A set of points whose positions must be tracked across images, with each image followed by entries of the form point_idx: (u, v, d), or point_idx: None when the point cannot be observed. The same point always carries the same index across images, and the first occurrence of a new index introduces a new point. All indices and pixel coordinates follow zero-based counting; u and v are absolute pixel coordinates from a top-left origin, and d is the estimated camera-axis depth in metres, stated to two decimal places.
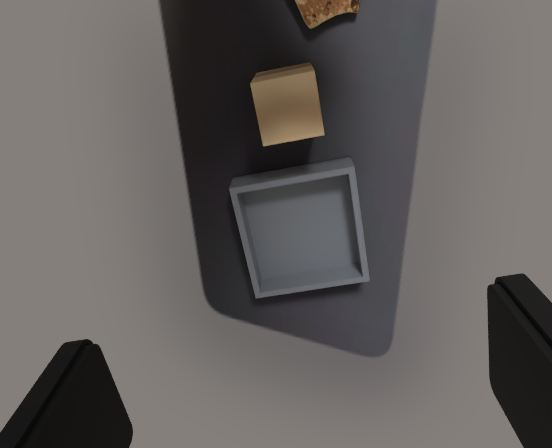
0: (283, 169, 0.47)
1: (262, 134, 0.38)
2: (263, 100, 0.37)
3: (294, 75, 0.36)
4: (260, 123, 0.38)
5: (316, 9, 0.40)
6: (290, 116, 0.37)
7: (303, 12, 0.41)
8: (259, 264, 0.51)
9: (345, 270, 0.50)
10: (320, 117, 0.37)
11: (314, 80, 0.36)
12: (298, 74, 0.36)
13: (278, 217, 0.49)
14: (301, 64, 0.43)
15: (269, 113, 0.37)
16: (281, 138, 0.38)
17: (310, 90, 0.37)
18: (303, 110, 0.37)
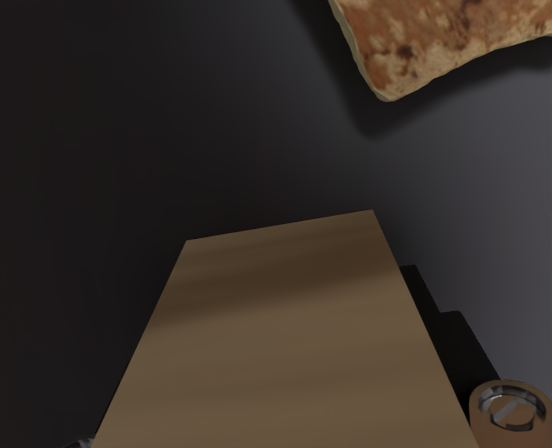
0: None
1: None
2: None
3: None
4: None
5: (418, 26, 0.09)
6: None
7: (361, 39, 0.10)
8: None
9: None
10: None
11: None
12: None
13: None
14: (344, 225, 0.12)
15: None
16: None
17: None
18: None
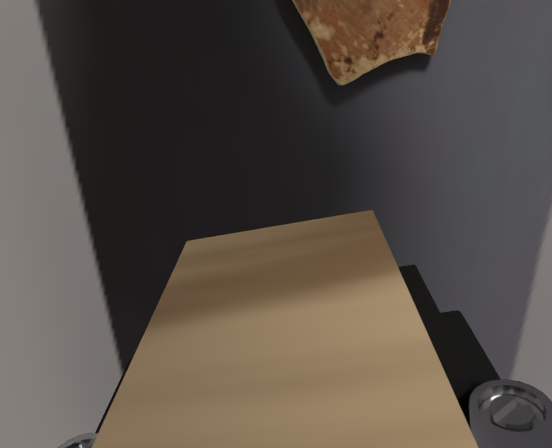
0: None
1: None
2: None
3: None
4: None
5: (354, 48, 0.20)
6: None
7: (327, 54, 0.20)
8: None
9: None
10: None
11: None
12: None
13: None
14: (344, 225, 0.12)
15: None
16: None
17: None
18: None
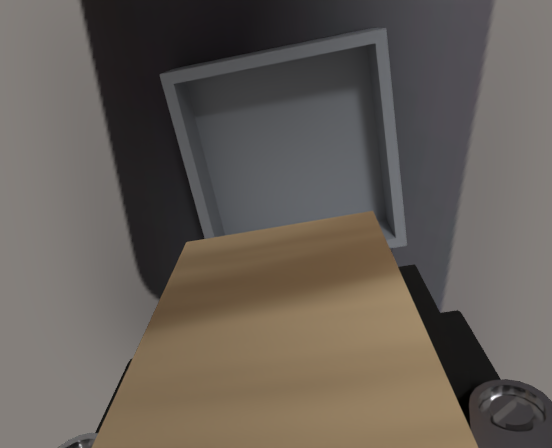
0: (259, 51, 0.27)
1: None
2: None
3: None
4: None
5: None
6: None
7: None
8: (223, 221, 0.31)
9: None
10: None
11: None
12: None
13: (252, 139, 0.29)
14: (344, 226, 0.12)
15: None
16: None
17: None
18: None
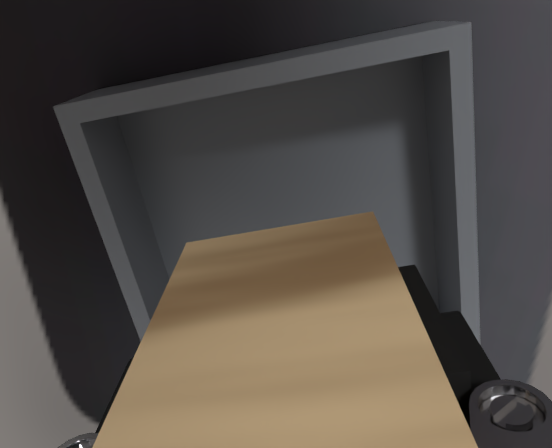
0: (237, 61, 0.16)
1: None
2: None
3: None
4: None
5: None
6: None
7: None
8: None
9: None
10: None
11: None
12: None
13: (229, 203, 0.18)
14: (344, 227, 0.12)
15: None
16: None
17: None
18: None
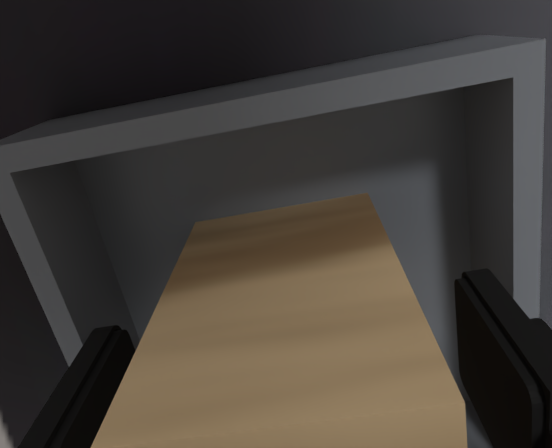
0: (225, 86, 0.13)
1: None
2: None
3: (341, 419, 0.06)
4: None
5: None
6: None
7: None
8: None
9: None
10: None
11: (457, 445, 0.06)
12: (365, 412, 0.06)
13: None
14: (341, 206, 0.13)
15: None
16: None
17: None
18: None
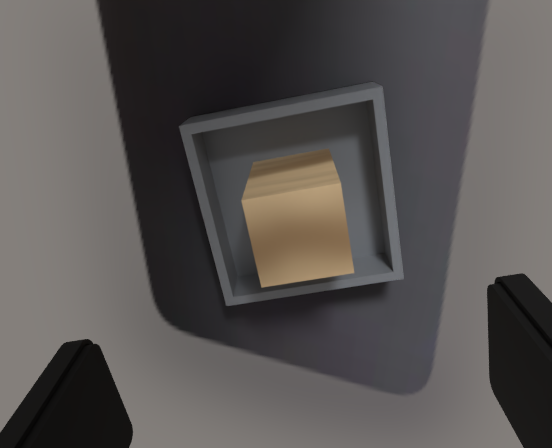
0: (268, 102, 0.30)
1: (260, 271, 0.25)
2: (261, 224, 0.24)
3: (309, 189, 0.24)
4: (257, 256, 0.25)
5: None
6: (303, 247, 0.25)
7: None
8: (233, 254, 0.34)
9: (364, 263, 0.32)
10: (348, 248, 0.25)
11: (340, 196, 0.24)
12: (315, 187, 0.24)
13: None
14: (316, 152, 0.30)
15: (271, 242, 0.25)
16: (289, 277, 0.25)
17: (333, 210, 0.24)
18: (322, 239, 0.24)
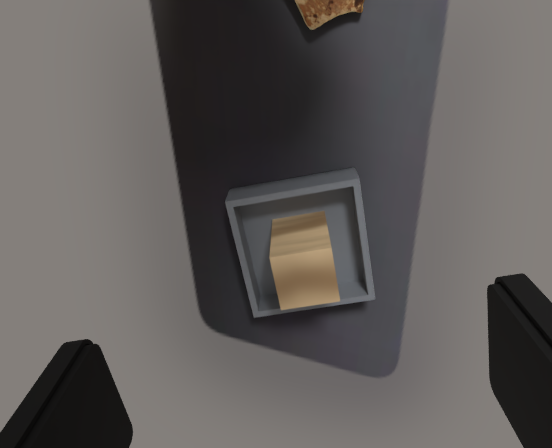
0: (283, 180, 0.44)
1: (280, 300, 0.39)
2: (281, 271, 0.38)
3: (312, 251, 0.38)
4: (278, 291, 0.39)
5: (318, 9, 0.38)
6: (307, 285, 0.39)
7: (303, 12, 0.38)
8: (257, 280, 0.48)
9: (349, 287, 0.47)
10: (336, 286, 0.39)
11: (331, 255, 0.38)
12: (315, 250, 0.38)
13: None
14: (316, 214, 0.44)
15: (287, 282, 0.39)
16: (299, 303, 0.40)
17: (326, 263, 0.38)
18: (320, 280, 0.39)
